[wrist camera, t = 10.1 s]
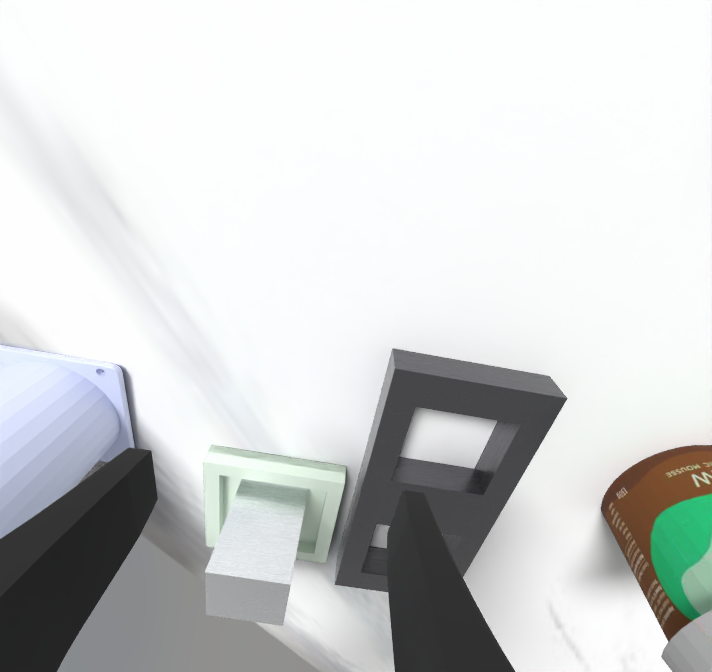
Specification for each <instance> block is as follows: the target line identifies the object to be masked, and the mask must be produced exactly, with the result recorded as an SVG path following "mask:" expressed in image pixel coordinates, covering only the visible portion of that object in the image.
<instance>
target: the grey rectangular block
mask: <svg viewBox="0 0 712 672" xmlns="http://www.w3.org/2000/svg"><path fill="white" fill-rule="evenodd" d="M307 494H308V489H307V488H300V487H294V486H287V485H281V484H274V483H268V482H261V481H255V480H248V479H242V480H241V482H240V485H239V487H238V490H237V492H236V495H235V497H234V500H233V502H232V505H231V507H230V510H229V512H228V515H227V518H226V520H225V523H224V525H223V528H222V530H221V533H220V535H219V538H218V540H217V543H216V545H215V548H214V550H213V553H212V555H211V558H210V560H209V563H208V565H207V568H206V571H205V600H206V602H205V603H206V615H210V616H217V617H224V618H231V619H238V620H245V621H253V622H260V623H267V624H274V625H281V626H283V622H284V617H285V611H286V606H287V601H288V596H289V590H290V585H291V580H292V574H293V569H294V563H295V558H296V553H297V547H298V542H299V537H300V531H301V526H302V520H303V515H304V510H305V504H306V499H307Z"/></svg>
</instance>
